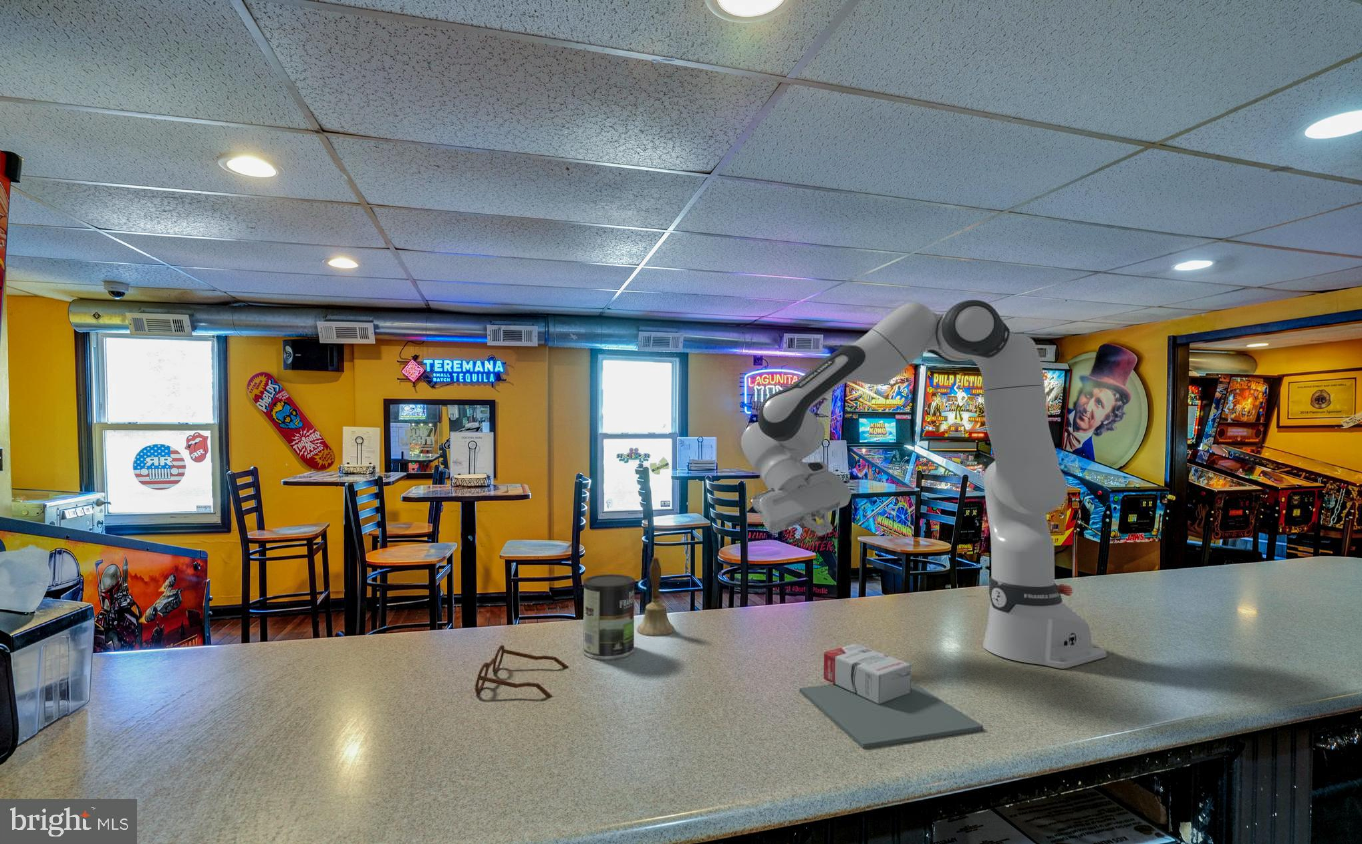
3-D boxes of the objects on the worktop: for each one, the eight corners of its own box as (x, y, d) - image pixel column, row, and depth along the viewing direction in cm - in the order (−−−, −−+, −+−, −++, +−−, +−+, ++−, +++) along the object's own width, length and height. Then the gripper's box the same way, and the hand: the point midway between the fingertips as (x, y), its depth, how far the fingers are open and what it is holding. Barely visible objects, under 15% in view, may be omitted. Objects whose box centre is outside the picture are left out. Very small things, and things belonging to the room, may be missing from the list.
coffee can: (642, 645, 123) (642, 576, 123) (621, 663, 113) (622, 588, 113) (597, 639, 126) (597, 572, 127) (573, 656, 116) (573, 583, 117)
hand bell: (666, 638, 127) (666, 562, 128) (630, 633, 130) (631, 559, 130) (679, 626, 135) (680, 555, 135) (646, 622, 138) (646, 552, 138)
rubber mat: (902, 679, 106) (902, 675, 106) (983, 730, 88) (983, 725, 88) (799, 691, 101) (799, 688, 101) (863, 748, 82) (862, 744, 82)
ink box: (822, 680, 104) (879, 705, 94) (822, 651, 104) (879, 673, 94) (855, 670, 109) (912, 693, 99) (855, 642, 109) (913, 663, 99)
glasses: (499, 668, 111) (499, 641, 111) (569, 669, 111) (569, 642, 111) (472, 699, 98) (473, 668, 98) (552, 700, 98) (552, 669, 98)
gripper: (749, 488, 123) (785, 540, 115) (830, 459, 130) (870, 506, 122) (745, 507, 128) (780, 558, 119) (823, 478, 135) (861, 524, 126)
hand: (826, 532), depth 121 cm, fingers closed
